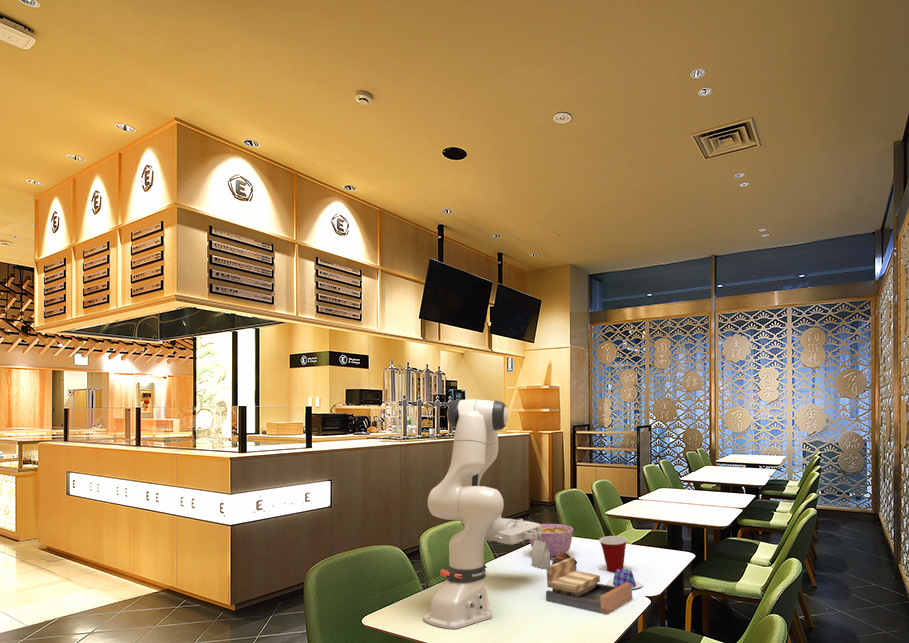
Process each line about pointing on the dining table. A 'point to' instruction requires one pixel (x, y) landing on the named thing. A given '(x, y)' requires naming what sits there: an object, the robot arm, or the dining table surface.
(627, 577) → the pudding
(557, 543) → the bowl of food
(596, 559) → the dining table surface
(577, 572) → the tan slatted block
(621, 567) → the plastic cup
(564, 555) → the brown bent arch
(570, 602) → the track
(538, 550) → the tea bag
